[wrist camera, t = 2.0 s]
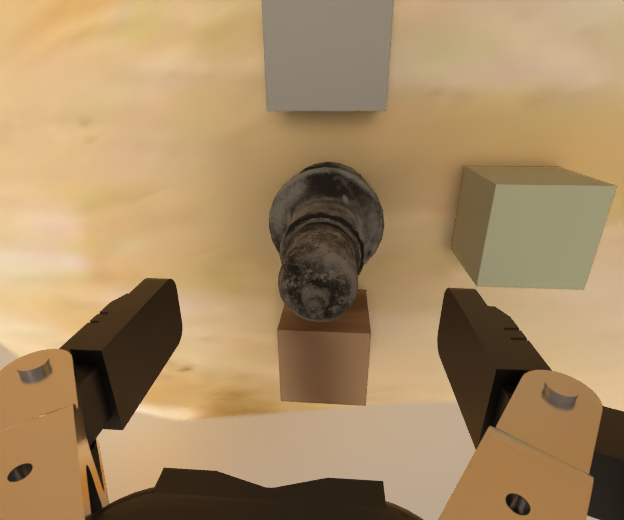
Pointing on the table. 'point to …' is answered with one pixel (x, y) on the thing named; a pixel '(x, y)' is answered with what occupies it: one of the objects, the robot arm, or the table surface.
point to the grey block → (327, 54)
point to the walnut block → (325, 356)
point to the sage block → (529, 225)
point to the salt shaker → (324, 238)
